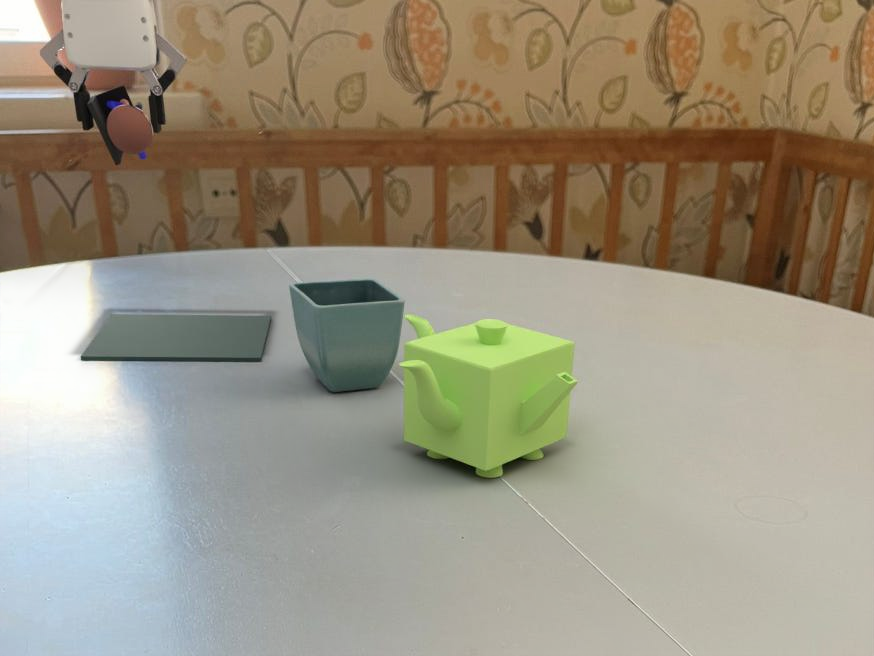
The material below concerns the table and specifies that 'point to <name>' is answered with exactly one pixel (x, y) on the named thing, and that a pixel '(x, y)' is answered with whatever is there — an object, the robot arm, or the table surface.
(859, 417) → the table surface
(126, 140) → the character figurine
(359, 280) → the flower pot
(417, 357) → the kettle
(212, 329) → the placemat
